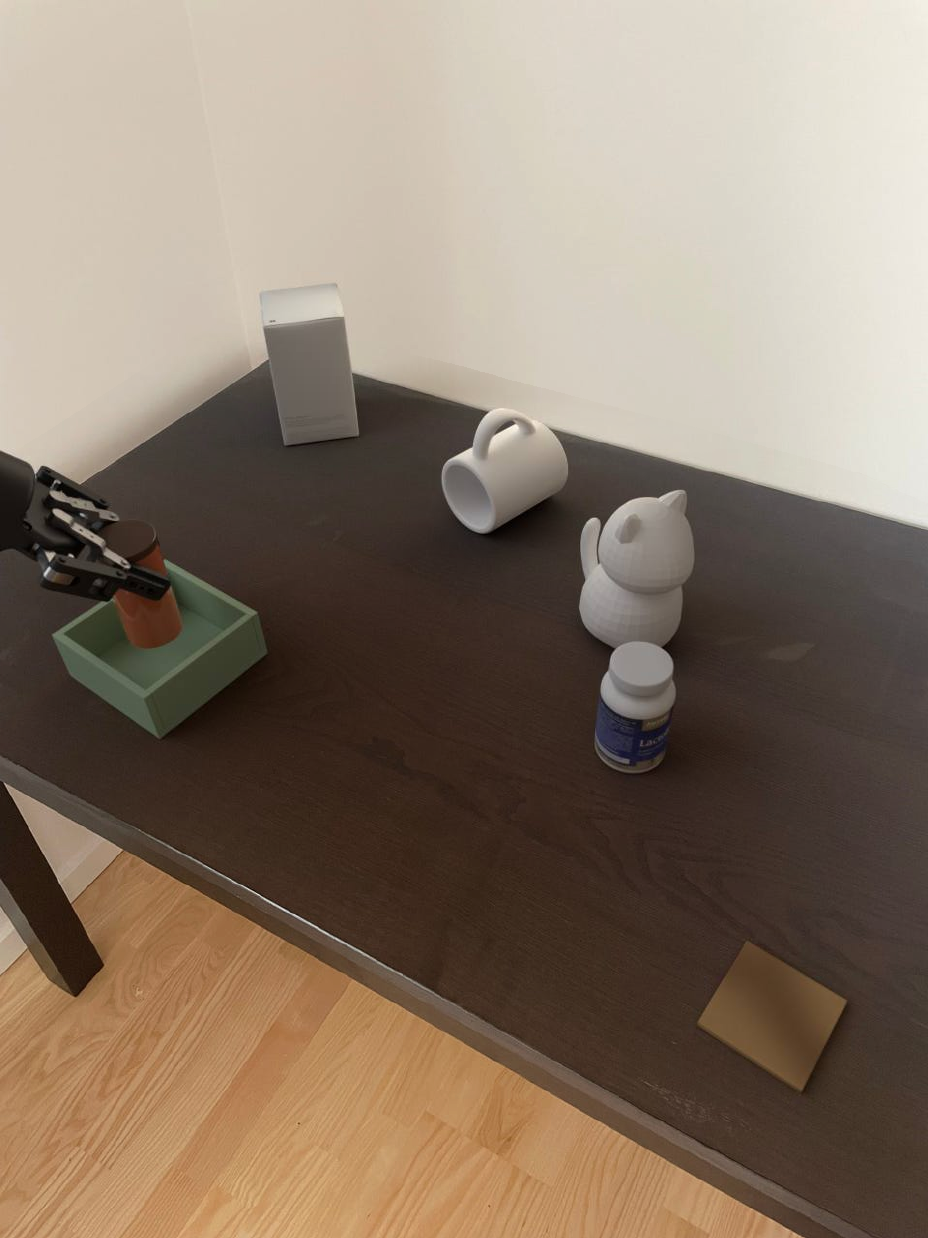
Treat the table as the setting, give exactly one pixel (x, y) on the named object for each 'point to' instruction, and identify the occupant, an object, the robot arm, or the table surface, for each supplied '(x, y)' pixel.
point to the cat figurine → (637, 571)
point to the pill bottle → (635, 708)
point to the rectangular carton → (310, 363)
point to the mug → (504, 471)
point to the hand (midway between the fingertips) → (158, 568)
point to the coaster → (773, 1015)
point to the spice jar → (138, 614)
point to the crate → (164, 654)
